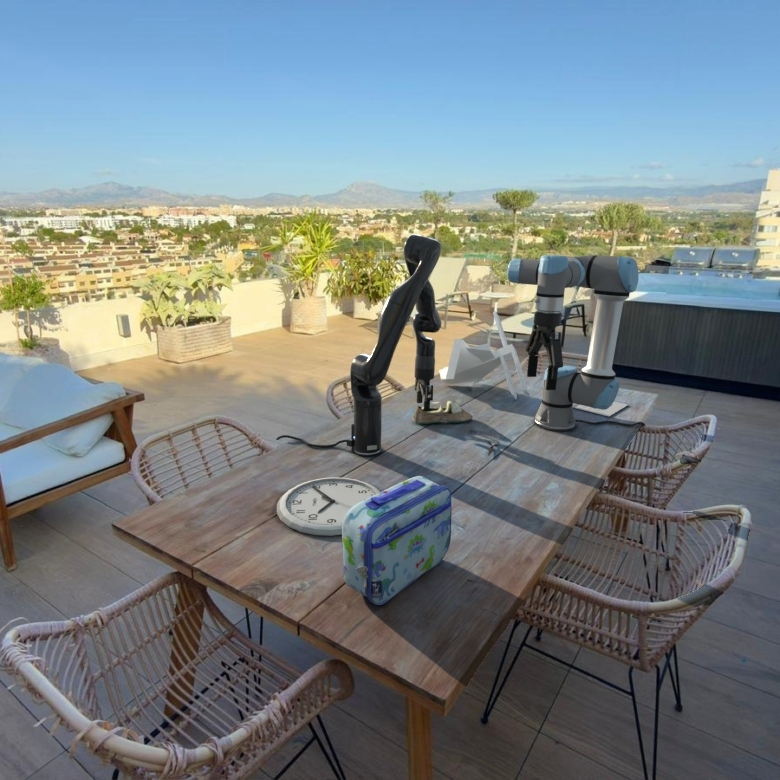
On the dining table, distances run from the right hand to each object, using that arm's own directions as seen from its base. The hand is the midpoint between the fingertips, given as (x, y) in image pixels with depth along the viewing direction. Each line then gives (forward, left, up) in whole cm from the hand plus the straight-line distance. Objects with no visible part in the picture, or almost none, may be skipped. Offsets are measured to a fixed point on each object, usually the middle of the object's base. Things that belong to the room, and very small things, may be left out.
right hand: (540, 382), depth 155 cm
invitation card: (-39, -70, -29) cm, 86 cm away
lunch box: (+36, +57, -29) cm, 73 cm away
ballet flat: (+28, -41, -29) cm, 58 cm away
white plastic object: (+12, -82, -29) cm, 88 cm away
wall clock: (+57, +29, -29) cm, 70 cm away
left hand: (+36, -39, -23) cm, 58 cm away
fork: (+11, -17, -29) cm, 36 cm away
